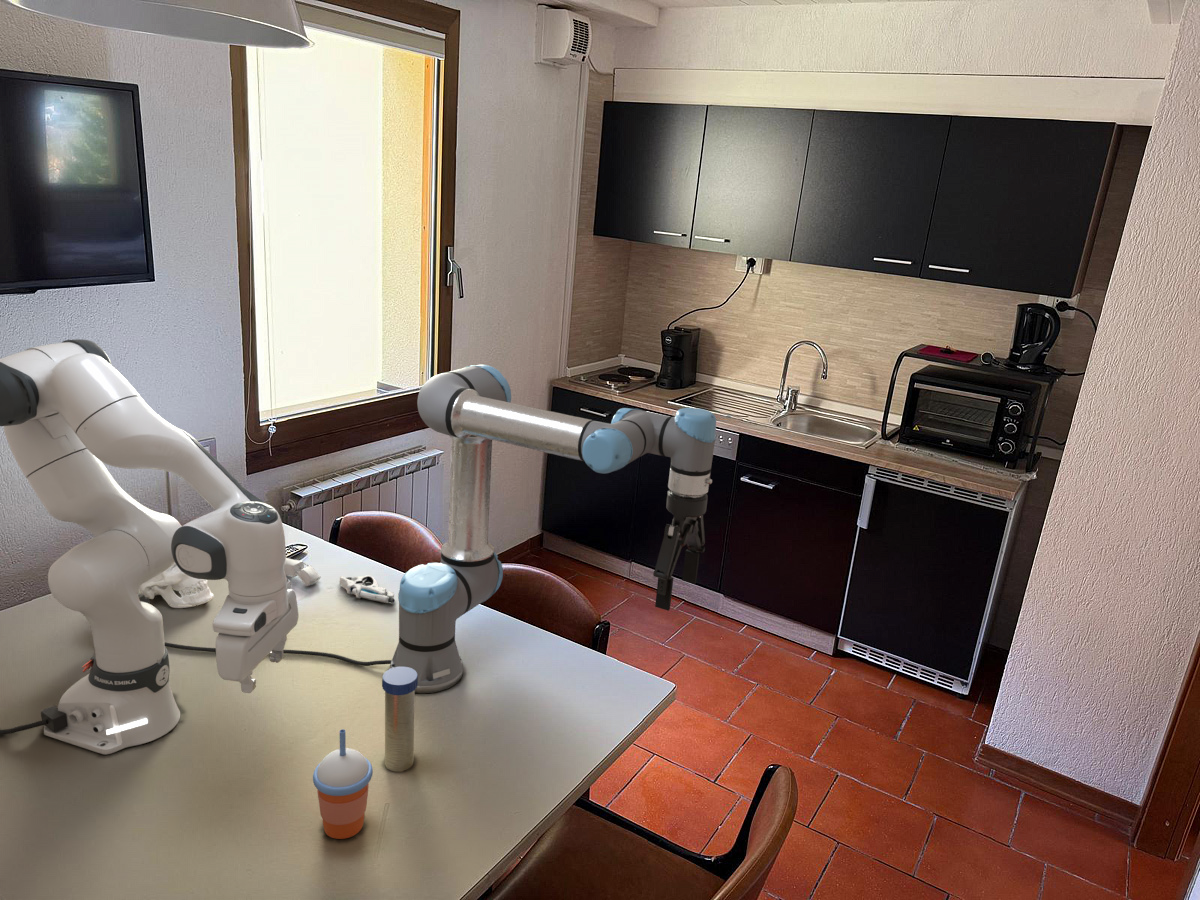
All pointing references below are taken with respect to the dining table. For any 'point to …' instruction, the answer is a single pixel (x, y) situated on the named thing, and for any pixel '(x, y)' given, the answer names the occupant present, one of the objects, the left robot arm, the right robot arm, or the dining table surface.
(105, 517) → the left robot arm
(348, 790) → the cup with straw
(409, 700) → the silver metal cylinder
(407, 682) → the lid
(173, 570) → the skull
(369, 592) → the toy gun
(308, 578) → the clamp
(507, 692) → the dining table surface
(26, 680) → the dining table surface
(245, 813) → the dining table surface
